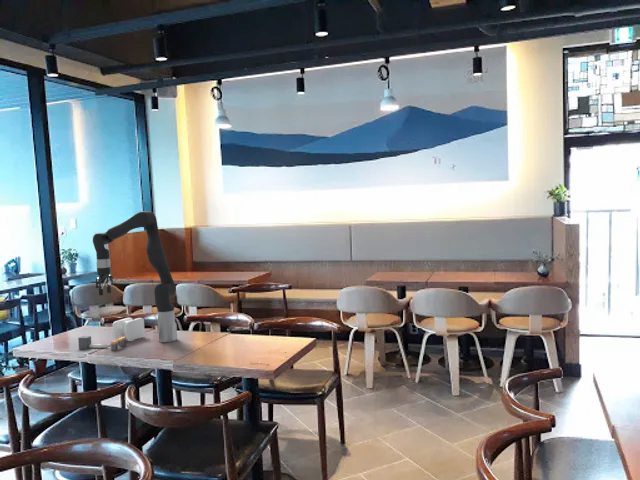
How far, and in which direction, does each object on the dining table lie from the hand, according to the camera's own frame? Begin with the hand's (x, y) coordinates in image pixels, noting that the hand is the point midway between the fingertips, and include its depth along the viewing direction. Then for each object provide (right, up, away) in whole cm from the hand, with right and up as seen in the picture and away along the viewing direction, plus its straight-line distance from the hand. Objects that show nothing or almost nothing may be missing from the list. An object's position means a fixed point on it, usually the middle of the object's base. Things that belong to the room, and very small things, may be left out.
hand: (105, 294), depth 308 cm
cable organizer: (+15, -26, -4) cm, 31 cm away
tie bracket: (+17, -27, -23) cm, 39 cm away
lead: (+2, -27, -21) cm, 34 cm away
